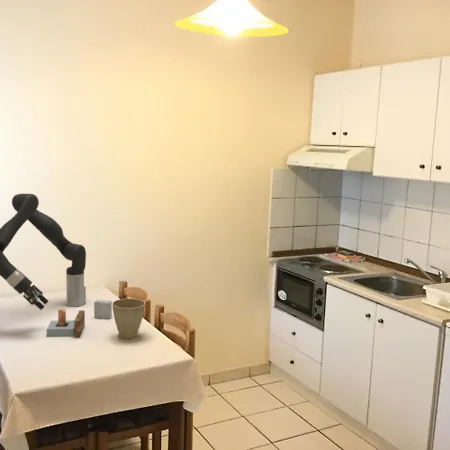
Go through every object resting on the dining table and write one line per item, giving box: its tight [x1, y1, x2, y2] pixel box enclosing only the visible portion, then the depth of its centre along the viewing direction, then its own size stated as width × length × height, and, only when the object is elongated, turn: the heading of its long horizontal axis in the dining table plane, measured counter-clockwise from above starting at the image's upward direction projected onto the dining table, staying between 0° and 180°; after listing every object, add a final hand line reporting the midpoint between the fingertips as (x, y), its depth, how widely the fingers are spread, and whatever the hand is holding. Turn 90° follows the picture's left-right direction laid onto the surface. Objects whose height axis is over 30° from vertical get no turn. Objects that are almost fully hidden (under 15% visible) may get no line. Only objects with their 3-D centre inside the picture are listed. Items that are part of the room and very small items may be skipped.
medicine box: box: [93, 299, 113, 320], centre depth 286 cm, size 8×4×9 cm, turn 84°
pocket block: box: [46, 319, 75, 338], centre depth 264 cm, size 12×12×4 cm
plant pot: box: [112, 297, 146, 340], centre depth 260 cm, size 15×15×16 cm
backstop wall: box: [73, 310, 86, 339], centre depth 265 cm, size 2×15×8 cm, turn 6°
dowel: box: [57, 308, 67, 327], centre depth 264 cm, size 3×3×10 cm
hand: (44, 305), depth 262 cm, fingers open, 8 cm apart
